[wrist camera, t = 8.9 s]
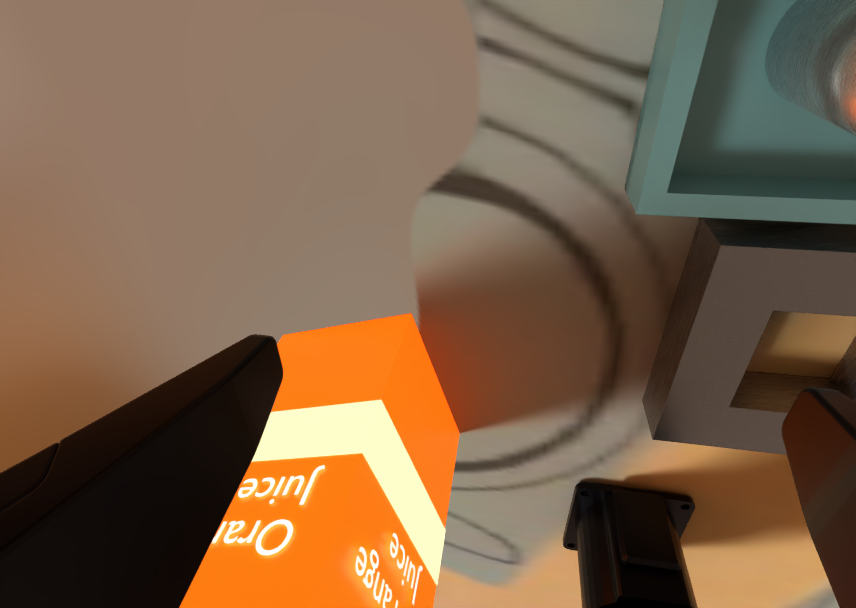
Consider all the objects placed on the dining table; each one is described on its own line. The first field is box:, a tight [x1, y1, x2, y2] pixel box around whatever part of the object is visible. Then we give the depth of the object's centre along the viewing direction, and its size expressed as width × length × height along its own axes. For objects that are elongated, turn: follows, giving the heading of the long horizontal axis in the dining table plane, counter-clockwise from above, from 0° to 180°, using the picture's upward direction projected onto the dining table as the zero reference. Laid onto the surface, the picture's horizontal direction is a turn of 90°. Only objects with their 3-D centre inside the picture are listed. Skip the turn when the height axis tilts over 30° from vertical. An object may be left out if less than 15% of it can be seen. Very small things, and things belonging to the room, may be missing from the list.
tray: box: [625, 0, 856, 224], centre depth 14 cm, size 10×10×2 cm
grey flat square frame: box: [642, 217, 856, 455], centre depth 20 cm, size 10×10×2 cm
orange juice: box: [179, 313, 459, 608], centre depth 19 cm, size 8×9×20 cm
